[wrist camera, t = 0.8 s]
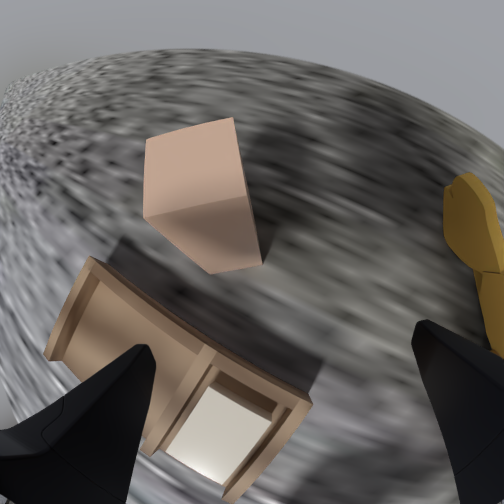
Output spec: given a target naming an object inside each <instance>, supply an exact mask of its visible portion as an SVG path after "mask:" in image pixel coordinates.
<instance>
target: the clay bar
mask: <svg viewBox="0 0 504 504" xmlns="http://www.w3.org/2000/svg"><path fill="white" fill-rule="evenodd" d="M143 218H144V219H145V220H146V221H147V222H148V223H150V224H151V225H152V226H153V227H154V228H155V229H156V230H158V231H159V232H160V233H161V234H162V235H163V236H164V237H166V238H167V239H168V240H169V241H170V242H171V243H173V244H174V245H175V246H176V247H177V248H179V249H180V250H181V251H182V252H183V253H184V254H186V255H187V256H188V257H189V258H190V259H192V260H193V261H194V262H195V263H196V264H198V265H199V266H200V267H201V268H203V269H204V270H205V271H206V272H207V273H209V274H214V273H220V272H226V271H231V270H237V269H243V268H248V267H254V266H259V265H263V264H262V258H261V252H260V247H259V241H258V236H257V230H256V225H255V219H254V214H253V209H252V204H251V200H250V195H249V190H248V185H247V181H246V176H245V171H244V167H243V162H242V157H241V153H240V148H239V143H238V139H237V134H236V129H235V125H234V120H233V117H232V118H227V119H222V120H217V121H213V122H208V123H204V124H200V125H195V126H191V127H188V128H184V129H180V130H176V131H173V132H169V133H166V134H162V135H159V136H156V137H152V138H149V139H146V150H145V167H144V199H143Z"/></svg>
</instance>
